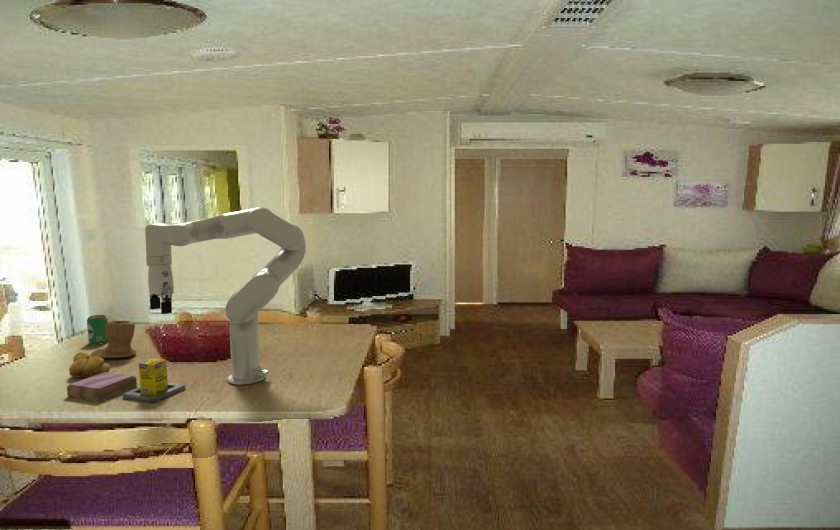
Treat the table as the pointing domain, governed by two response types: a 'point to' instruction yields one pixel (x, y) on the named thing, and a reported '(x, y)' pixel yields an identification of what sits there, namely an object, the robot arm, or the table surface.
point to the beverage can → (97, 329)
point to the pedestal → (101, 386)
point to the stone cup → (117, 340)
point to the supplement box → (153, 376)
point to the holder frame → (137, 395)
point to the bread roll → (87, 366)
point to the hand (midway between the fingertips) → (160, 311)
